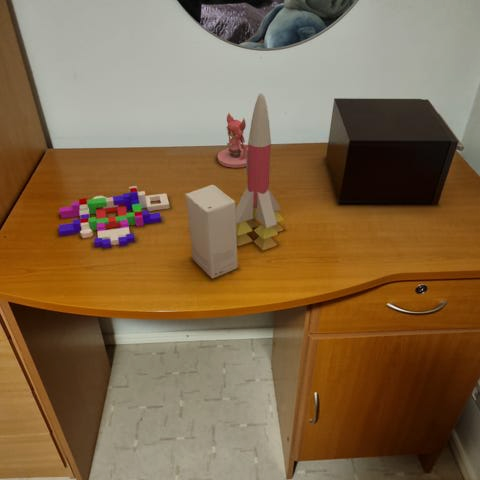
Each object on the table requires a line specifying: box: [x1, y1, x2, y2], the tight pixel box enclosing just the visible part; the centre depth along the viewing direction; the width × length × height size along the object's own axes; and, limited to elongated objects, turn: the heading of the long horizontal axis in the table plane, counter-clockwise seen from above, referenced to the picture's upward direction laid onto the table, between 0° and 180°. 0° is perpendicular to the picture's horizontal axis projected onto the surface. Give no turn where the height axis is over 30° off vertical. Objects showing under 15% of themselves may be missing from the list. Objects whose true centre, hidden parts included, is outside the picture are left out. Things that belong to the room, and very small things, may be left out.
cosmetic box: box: [184, 184, 239, 279], centre depth 94 cm, size 8×7×16 cm
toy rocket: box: [235, 92, 285, 251], centre depth 96 cm, size 12×12×30 cm
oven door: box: [421, 98, 465, 206], centre depth 118 cm, size 5×24×16 cm, turn 0°
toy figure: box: [217, 113, 248, 169], centre depth 128 cm, size 10×10×12 cm
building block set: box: [58, 185, 171, 249], centre depth 109 cm, size 25×20×4 cm
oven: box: [325, 97, 451, 206], centre depth 118 cm, size 22×24×16 cm
